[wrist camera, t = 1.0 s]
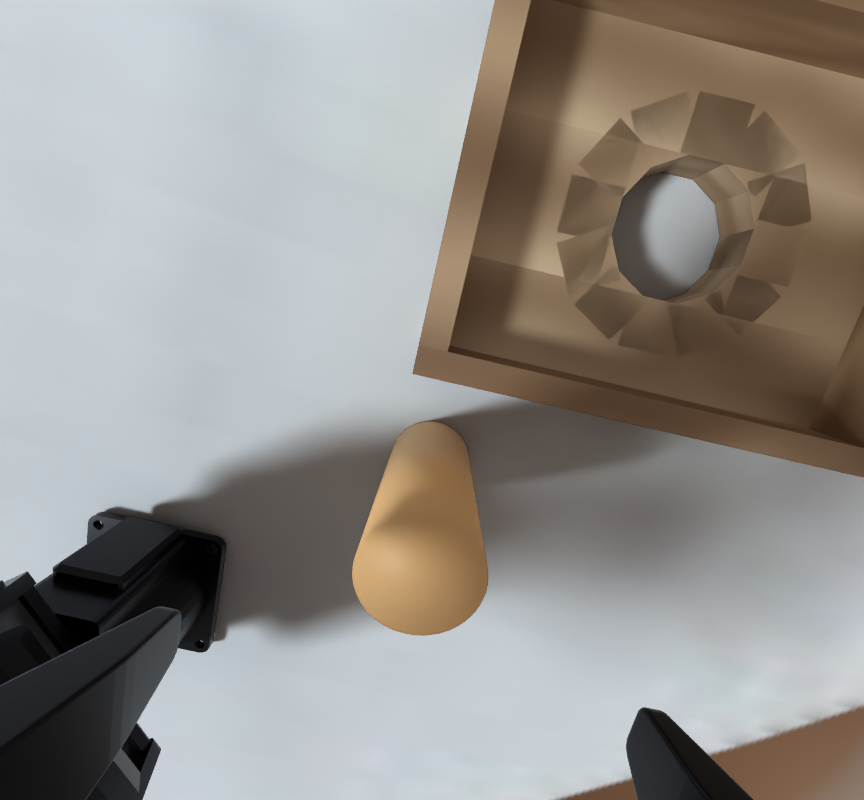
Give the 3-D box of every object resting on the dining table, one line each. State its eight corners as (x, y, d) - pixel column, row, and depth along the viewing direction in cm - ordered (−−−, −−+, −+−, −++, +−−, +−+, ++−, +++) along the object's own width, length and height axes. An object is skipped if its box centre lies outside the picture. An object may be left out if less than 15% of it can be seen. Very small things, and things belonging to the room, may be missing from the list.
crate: (784, 442, 20) (883, 482, 15) (419, 357, 19) (412, 373, 15) (930, 103, 17) (1106, 30, 12) (500, -6, 16) (521, -122, 12)
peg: (458, 501, 21) (469, 647, 12) (384, 485, 21) (340, 619, 12) (476, 431, 20) (503, 531, 11) (400, 413, 20) (366, 500, 11)
